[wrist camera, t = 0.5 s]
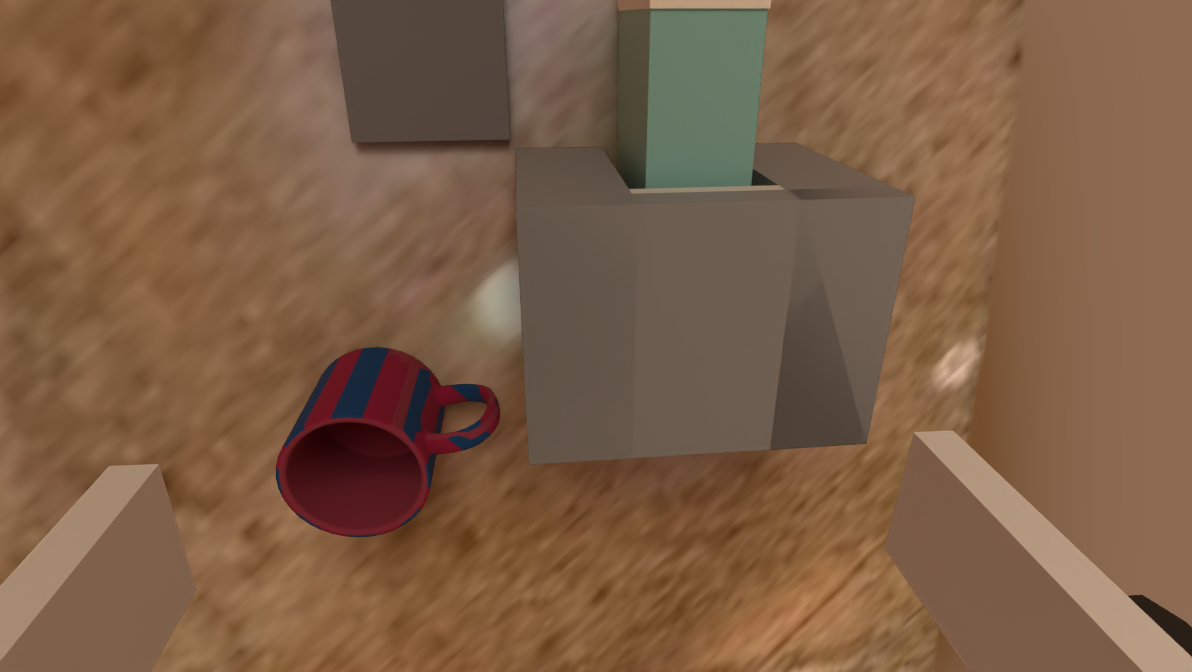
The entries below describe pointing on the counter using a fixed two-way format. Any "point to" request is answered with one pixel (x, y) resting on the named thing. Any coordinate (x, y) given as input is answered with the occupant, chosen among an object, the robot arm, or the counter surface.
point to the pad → (423, 69)
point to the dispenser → (702, 305)
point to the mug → (373, 442)
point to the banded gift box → (689, 91)
